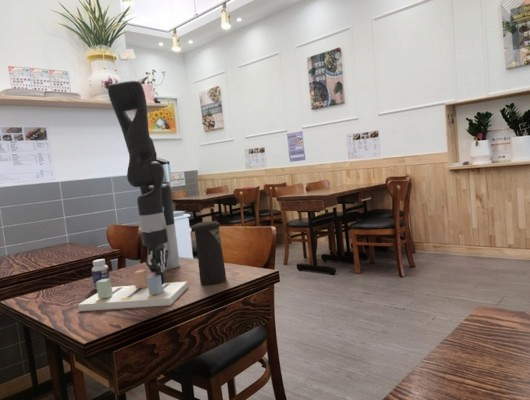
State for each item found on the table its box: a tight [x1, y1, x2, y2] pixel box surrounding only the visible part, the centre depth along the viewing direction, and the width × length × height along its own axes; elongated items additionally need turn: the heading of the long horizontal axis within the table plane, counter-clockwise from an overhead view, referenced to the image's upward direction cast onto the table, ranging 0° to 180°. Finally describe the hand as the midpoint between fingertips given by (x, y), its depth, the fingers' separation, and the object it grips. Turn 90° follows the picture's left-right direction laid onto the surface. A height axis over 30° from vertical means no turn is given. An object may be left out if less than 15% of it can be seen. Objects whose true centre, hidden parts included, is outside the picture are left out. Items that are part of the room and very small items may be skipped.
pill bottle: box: [91, 258, 111, 290], centre depth 143 cm, size 5×5×10 cm
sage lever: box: [96, 278, 113, 299], centre depth 122 cm, size 3×3×5 cm
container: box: [192, 220, 227, 286], centre depth 134 cm, size 9×9×20 cm
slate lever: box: [147, 274, 163, 295], centre depth 120 cm, size 3×3×5 cm
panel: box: [77, 281, 189, 312], centre depth 124 cm, size 16×28×2 cm, turn 83°
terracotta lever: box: [133, 269, 149, 288], centre depth 129 cm, size 3×3×5 cm
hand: (161, 284), depth 124 cm, fingers closed
